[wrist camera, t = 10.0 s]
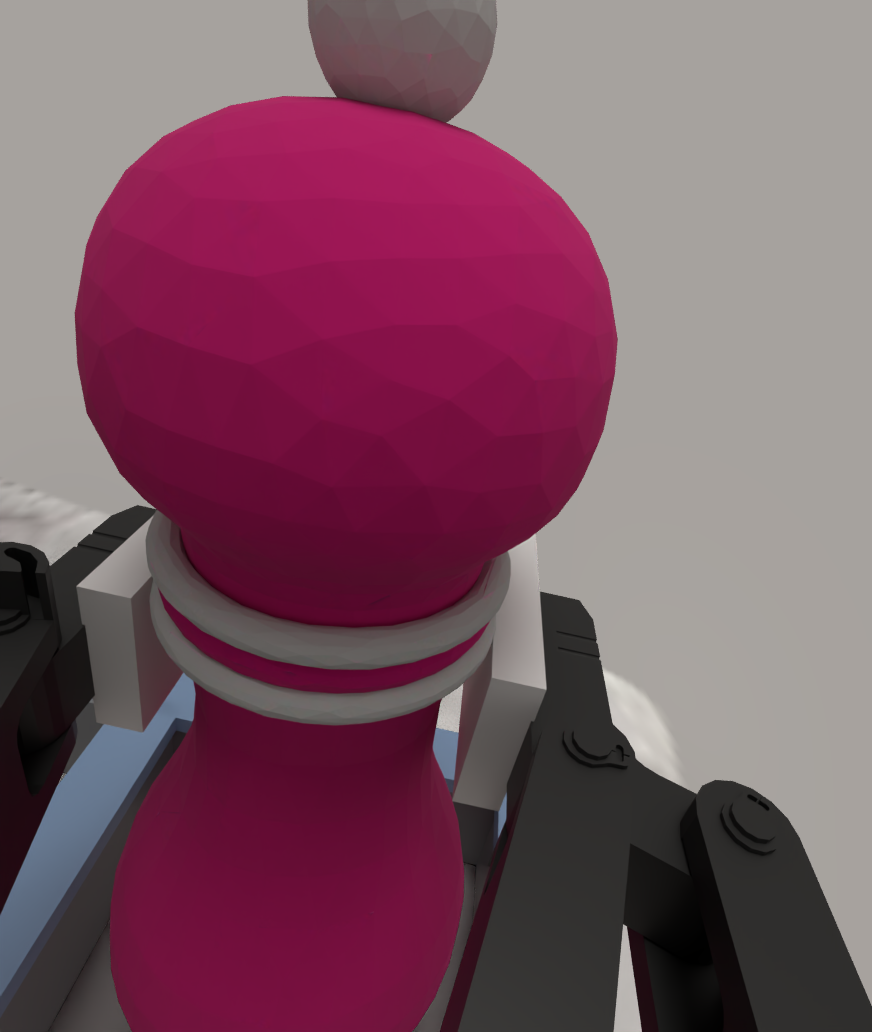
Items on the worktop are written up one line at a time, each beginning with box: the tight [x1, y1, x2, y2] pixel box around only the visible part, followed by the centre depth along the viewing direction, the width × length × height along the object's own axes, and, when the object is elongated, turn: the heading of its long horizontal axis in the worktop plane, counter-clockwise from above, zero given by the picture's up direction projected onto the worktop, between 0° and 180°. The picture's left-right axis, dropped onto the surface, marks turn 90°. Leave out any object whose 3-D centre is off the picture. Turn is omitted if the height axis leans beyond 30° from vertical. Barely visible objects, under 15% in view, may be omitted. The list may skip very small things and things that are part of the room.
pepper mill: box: [75, 0, 618, 1032], centre depth 10 cm, size 7×7×20 cm
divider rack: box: [0, 673, 507, 1032], centre depth 16 cm, size 26×12×5 cm, turn 83°
